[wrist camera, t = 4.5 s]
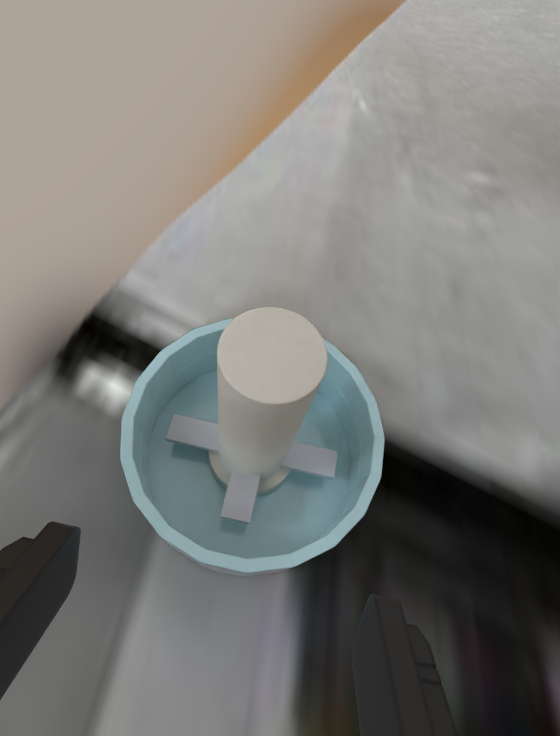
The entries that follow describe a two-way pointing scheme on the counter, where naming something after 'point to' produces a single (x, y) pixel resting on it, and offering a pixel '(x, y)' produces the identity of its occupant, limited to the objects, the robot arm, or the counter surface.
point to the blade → (260, 407)
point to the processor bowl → (206, 495)
